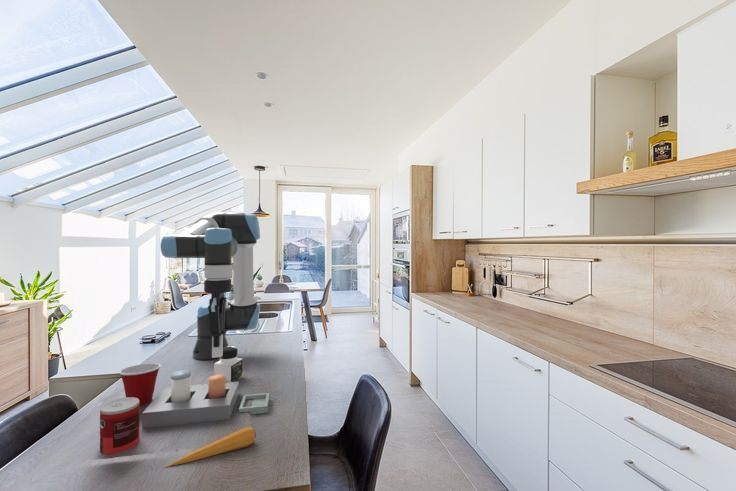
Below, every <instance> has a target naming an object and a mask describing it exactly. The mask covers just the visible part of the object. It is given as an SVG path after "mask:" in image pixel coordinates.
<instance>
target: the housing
mask: <svg viewBox="0 0 736 491" xmlns="http://www.w3.org/2000/svg"><path fill="white" fill-rule="evenodd" d="M239 395H240V381H232V382H226V397H225V398H215V399H208V383H206V384H205V383H203V384H194V385H193V384H192V385H191V393H190V401H184V402H173V403H171V386H165V387H164V388H163V389H162V390H161V391H160V392H159V394H158V395H157V396H156V397H155V398H154V399H152V401H151V402H150V403H149V405H148V406H147V407H146V408H145V409H144V411H142V413H141V414H142V415H141V417H142V418H141V420H142V421H141V423H142V424H141V428H142V429H144V428H145V429H146V428H147V429H148V428H154V427H165V426H174V425H175V426H176V425H185V424H194V423H195V424H196V423H206V422H216V421H225V420H226V421H227V420H230V419H231V416H232V414H233V411H234V408H235V406H236V402H237V400H238V397H239Z"/></svg>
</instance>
